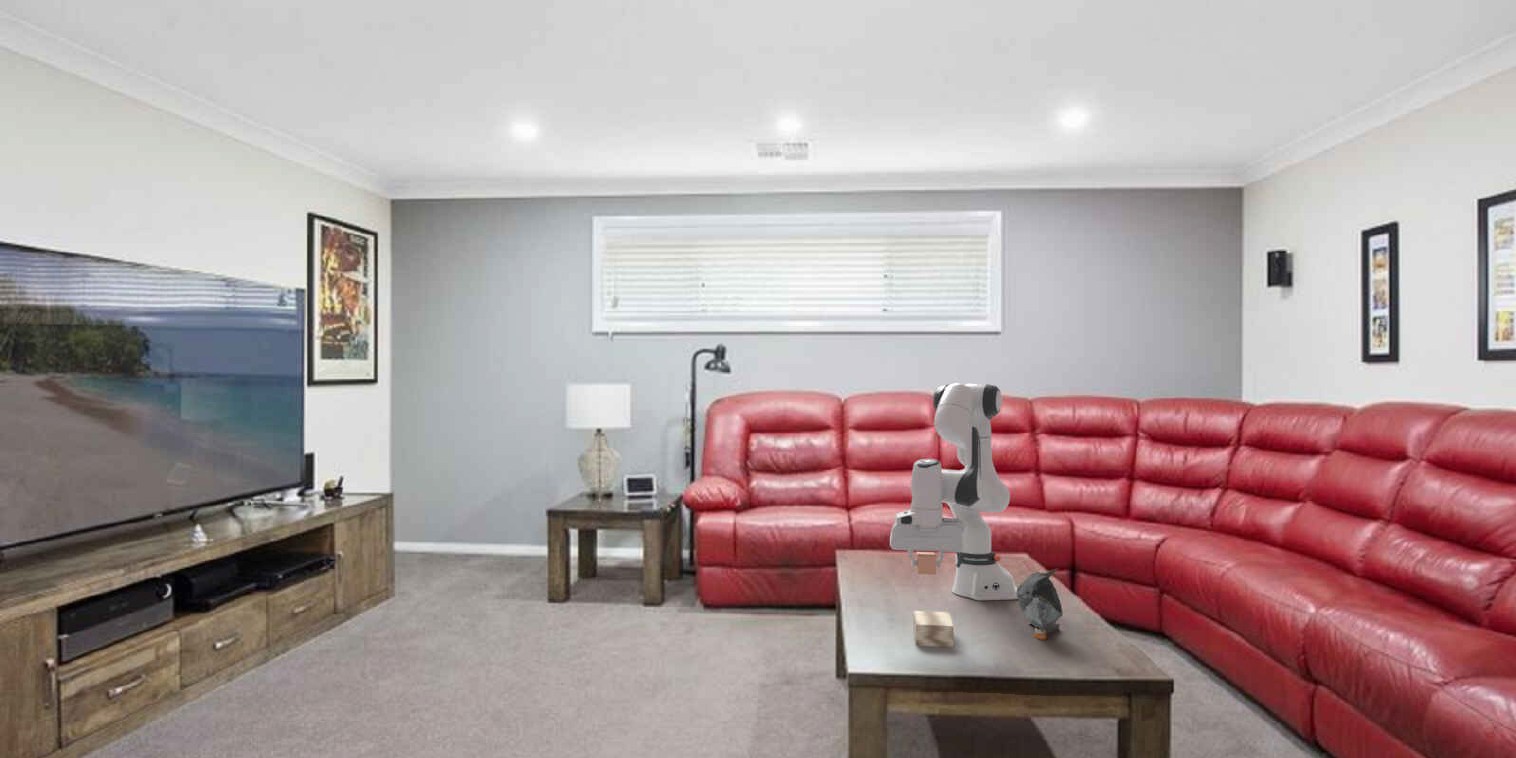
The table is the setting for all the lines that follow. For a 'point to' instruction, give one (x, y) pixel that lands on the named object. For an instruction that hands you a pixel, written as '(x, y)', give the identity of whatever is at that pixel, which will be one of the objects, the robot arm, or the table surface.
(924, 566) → the terracotta cube
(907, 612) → the table surface
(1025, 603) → the grey faceted figure
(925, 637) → the birch block
